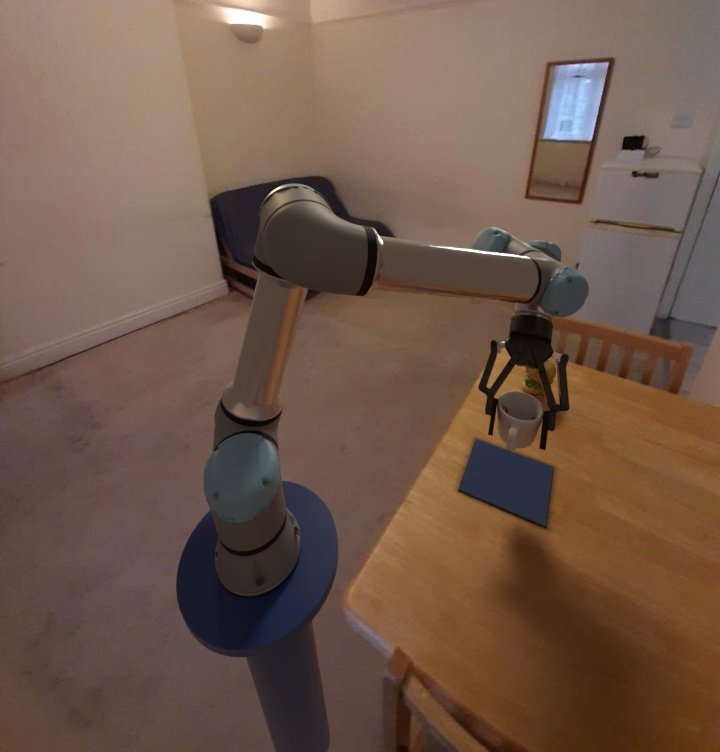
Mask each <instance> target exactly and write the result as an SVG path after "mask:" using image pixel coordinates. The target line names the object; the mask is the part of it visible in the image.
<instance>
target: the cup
mask: <svg viewBox="0 0 720 752" xmlns="http://www.w3.org/2000/svg"><path fill="white" fill-rule="evenodd" d="M497 399H498V402H497V409H496V417H497V418H496V422H497V423H496V424H497V425H496V426H497V433H498V436H499V438H500V439H501V441H502V442H503V443H505V444H506V450H509V451H512V452H514V451H515V450H516V449H526V448H528V447H530V446H532V445H533V443H534V442H535V440H536V438H537V434H538V432H539V430H540V428H541V425H542V421H543V416H544V411H545V410H544V409H545V408H544V406H543V404H542V403H541V401H540V400H539V399H538V398H536V397H535V396H534V395H533V394H531V393H528V392H526V391H521V390H508V391H505V392H503V393H501V394H500V395H499V397H498V398H497Z"/></svg>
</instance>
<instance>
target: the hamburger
mask: <svg viewBox="0 0 720 752" xmlns="http://www.w3.org/2000/svg"><path fill="white" fill-rule="evenodd" d="M552 360H553V359H551V358H549V359H548V360H547V361H546V362H545V363H544V366H545V370H546V374H547V377H548V380H549V383H550V386H551V387H552V385H553V383H554V379H555V377H557V366H556V364H555V363H554V361H552ZM524 368H525V370H524V377H523V382H522V383H521V387H522V389H523V390H524V392H525V393H528V394H530V395H542V394H544V393H543V390H542V387H541V384H540V381H539V377H538V375H537V372H536V369H531V368H528V367H526V366H524Z"/></svg>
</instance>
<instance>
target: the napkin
mask: <svg viewBox="0 0 720 752" xmlns="http://www.w3.org/2000/svg"><path fill="white" fill-rule="evenodd" d="M553 473H554V466H553V465H550V464H548V463H545V462H542V461H539V460H537V459H534V458H531V457H528V456H526V455H523V454H520V453H517V452H514V451H509V450H508V449H507V448H503V447H501V446H497V445H495V444H493V443H490V442H486V441H484V440H481V439H478V438H475V440H474V443H473V446H472V449H471V452H470V455H469V457H468V461H467V463H466V466H465V469H464V472H463V475H462V478H461V480H460V482H459V483H460V484H459V486H458V490H457V491H459V492H461V493H464V494H466V495H469V496H471V497H473V498H476V499H478V500H479V501H483V502H485V503H487V504H490V505H491V506H495V507H497V508H499V509H501V510H504V511H506V512H508V513H511V514H513V515H514V516H519V517H520V518H522V519H524V520H527V521H530V522H532V523H534V524H537V525H538V526H541V527H544V528H547V527H546V526H547V521H548V520H547V519H548V511H549V503H550V497H551V496H550V495H551V488H552V480H553Z"/></svg>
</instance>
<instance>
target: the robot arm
mask: <svg viewBox="0 0 720 752" xmlns="http://www.w3.org/2000/svg"><path fill="white" fill-rule="evenodd" d="M258 223H259V225H258V230H257V231H258V232H257V236H256V240H255V245H254V249H253V254H252V259H251V264H252V266H253V267H254V268H255V270H256V271H257V273H258V275H257V279H256V284H255V288H254V292H253V297H252V301H251V305H250V310H249V314H248V318H247V321H246V328H245V330H244V335H243V339H242V344H241V348H240V353H239V357H238V361H237V365H236V369H235V370H236V371H235V375H234V379H233V381H231V382H230V383H228V384H227V385H226V386H225V387H224V388H223V390H222V394H221V397H219V400H218V403H217V405H216V408H215V412H214V431H213V444H212V452H211V454H210V455H209V456H208V459H207V461H206V463H205V466H204V468H203V477H202V478H203V481H202V482H203V493H204V496H205V502H206V503H207V506H208V507H209V511H210V510H211V514H212V517H213V520H214V523H215V527H216V530H217V533H218V542H217V545H216V550H215V568H216V572H217V575H218V578H219V581H220V583H221V584H222V586H223V587H224V588H225V589H226V590H227V591H228V592H229V593H230V594H232V595H234V596H236V597H239V598H244V599H253V598H259V597H262V596H265V595H268V594H270V593H272V592H273V591H275V590H276V589H278V588H279V587H280V586H281V585H283V584H284V583H285V582H286V581H287V580H288V578H289V577H290V576H291V574H292V573H293V571H294V570H295V568H296V566H297V564H298V561H299V558H300V555H301V549H302V539H301V532H300V528H299V525H298V523H297V521H296V519H295V517H294V516H293V514H292V513H291V512H290V511H289V510H288V509H287V507H286V505H285V499H284V493H283V486H282V481H283V479H282V470H281V459H280V447H279V439H278V437H279V436H278V430H279V429H278V428H279V423H280V420H281V416H282V413H283V409H284V405H285V397H284V394H283V392H282V391H281V387H282V384H283V380H284V376H285V373H286V370H287V367H288V362H289V359H290V355H291V351H292V348H293V345H294V341H295V338H296V334H297V329H298V327H299V323H300V320H301V315H302V312H303V308H304V305H305V302H306V298H307V294H308V291H309V290H312V291H317V292H322V293H327V294H336V295H341V296H354V297H367V296H368V295H369V294H371V293H372V292H373V291H381V292H382V291H383V292H393V293H404V294H414V295H416V294H417V295H425V296H436V297H448V298H457V299H458V298H459V299H468V300H480V301H490V302H492V301H493V302H503V303H512V304H513V306H512V310H511V311H512V312H511V314H512V315H513V316H512V317H511V318H510V319H511V320H510V324H509V332H508V337H507V339H506V340H505V341H497V340H494V339H492V340H491V341H490V353H489V356H488V359H487V361H486V364H485V367H484V370H483V372H482V375H481V378H480V381H479V383H478V386H477V387H478V388H477V389H478V391H479V392H480V393H483V394H484V395H485V396H486V400H485V401H486V402H485V408H484V413H485V415H487V416H490V420H489V425H488V431H487V435H488V436H492V437H493V435H494V430H495V429H494V427H495V423H496V416H497V402H498V398H497V397H495V396H496V394H497V393H498V391H499V390H500V389H501V387H502V385H503V384H504V382H506V379H507V378H508V376H510V373H511V372H512V371H513V370H514V368H515V366H517V367H525V366H526V367H528V368H531V369H536V372H537V375H538V377H539V381H540V384H541V387H542V390H543V393H542V394H543V397H544V399H545V403H546V406H547V409H548V410H546V409H545V410H544V416H543V419H542V421H541V430H540V439H539V450H543V451H547V442H548V434H549V433H548V432H549V431H550V432H554V431H555V430H556V426H557V425H556V424H557V415H558V413H562V412H568V411H569V410H570V399H569V398H570V397H569V386H568V385H569V384H568V374H567V365H568V362H569V360H570V356H569V354H567V353H559V352H557V351H554V348H553V346H552V340H553V332H554V323H553V321H554V320H555V318H560V319H562V318H566V317H567V318H568V317H570V316H572V315H574V314H576V313H577V312H578V311H579V310H581V308H582V307H583V306H584V304H585V303H586V300H587V298H588V297H589V294H590V293H589V292H590V286H589V283H588V281H587V279H586V278H585V277H584V276H583V275H582V274H580V273H579V272H577V271H576V270H575V269H573V268H572V267H571V266H568V265H566V264H564V263H562V250H561V248H560V246H559V245H558V244H556V243H554V242H552V241H550V242H549V241H547V240H543V239H534V240H528V241H526V242H524V241H523V240H521V239H520V238H518V237H516V236H514V235H512V234H511V233H509V232H508V231H506V230H503V229H501V228H498V227H497V226H487V227H485V228H483V229H482V230H481V231H479V232H478V234H477V235H476V237H475V238H474V239H473V241H472V244H471V247H470V248H468V247H462V246H455V245H449V244H448V245H447V244H442V243H433V242H427V241H419V240H412V239H406V238H397V237H391V236H384V235H380V234H379V233H378V232H377V230H376V229H375V228H374V227H372V226H366V225H360V224H356V223H352V222H349V221H348V220H345V219H343V218H341V217H339V216H337V215H336V213H335V212H334V211H333V210H332V208H331V205H330V203H329V201H328V200H327V199H326V197H325V196H324V195H323V194H321V192H319V191H317V190H316V189H314V188H312V187H310V186H309V185H305V184H302V183H287V184H282V185H280V186H277V187H276V188H275V189H273V190H272V191H270V192H269V193H268V194H267V196H266V197H265V198H264V200H263V202H261V205H260V207H259V211H258ZM503 349H505V351H506V352H507V354H508V355H509V357H510V358H509V359H508V361H507V363H506V364H505V366H504V367H503V369H502V370H501V372H500V373H499V375H498V376H497V378H496V379H495V381H494V382H493V383H492V385H491V387H488V383H489V380H490V377H491V375H492V372H493V368H494V366H495V363H496V361H497V357H498V354H501V353H502V350H503ZM548 359H552V360H553V363H554V364H555V366H556V378H557V390H558V402H559V403H558V404H557V401H556V399H555V396H554V393H553V389H552V385H551V386H550V383H549V380H548V377H547V374H546V370H545V366H544V363H545V362H546V361H547V360H548Z"/></svg>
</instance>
